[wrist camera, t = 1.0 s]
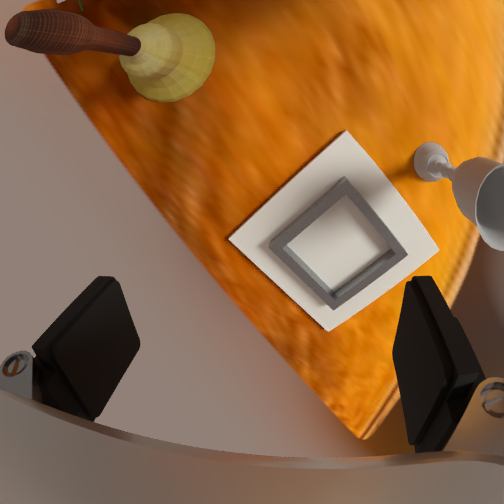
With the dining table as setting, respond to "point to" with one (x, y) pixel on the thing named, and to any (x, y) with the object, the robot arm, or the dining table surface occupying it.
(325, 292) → the collar
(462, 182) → the chalice
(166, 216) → the dining table surface
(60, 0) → the lily
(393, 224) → the board
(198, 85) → the handbell
